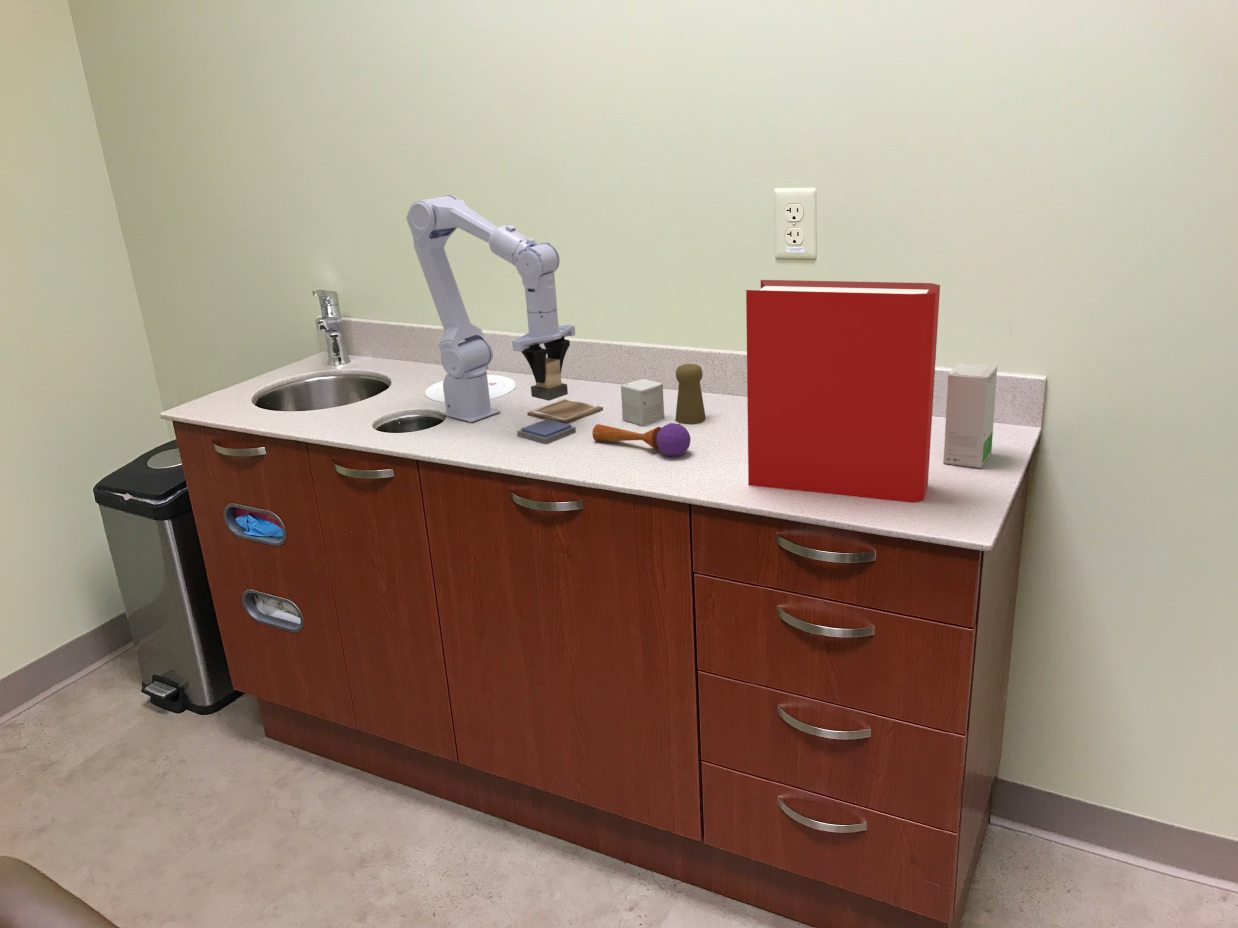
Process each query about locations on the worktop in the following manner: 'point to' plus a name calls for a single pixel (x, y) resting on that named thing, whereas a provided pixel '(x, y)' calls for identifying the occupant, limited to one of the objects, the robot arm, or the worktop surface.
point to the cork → (689, 395)
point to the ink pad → (546, 431)
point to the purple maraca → (649, 437)
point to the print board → (565, 411)
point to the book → (841, 386)
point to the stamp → (550, 382)
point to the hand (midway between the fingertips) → (548, 379)
